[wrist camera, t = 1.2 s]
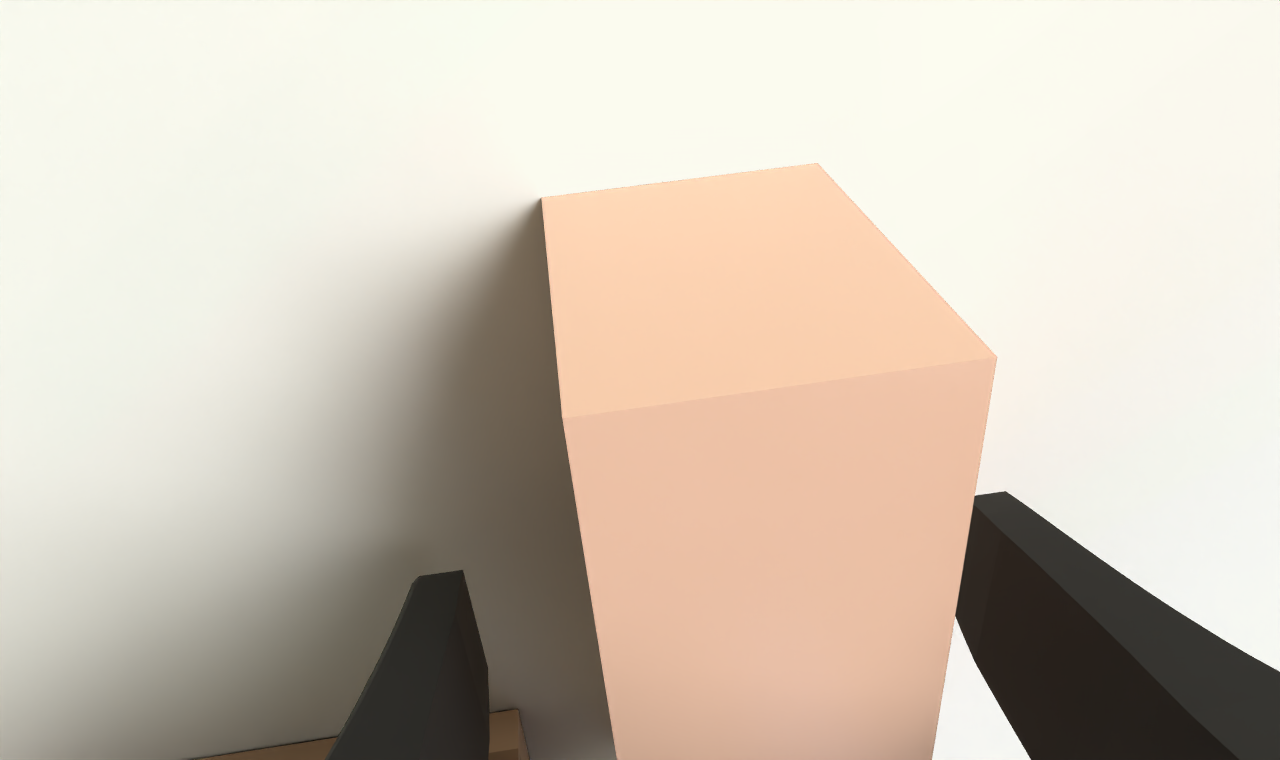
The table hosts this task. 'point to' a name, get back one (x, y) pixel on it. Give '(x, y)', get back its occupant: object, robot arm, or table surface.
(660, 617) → the peach rectangular block
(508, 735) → the rack
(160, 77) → the table surface
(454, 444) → the table surface
